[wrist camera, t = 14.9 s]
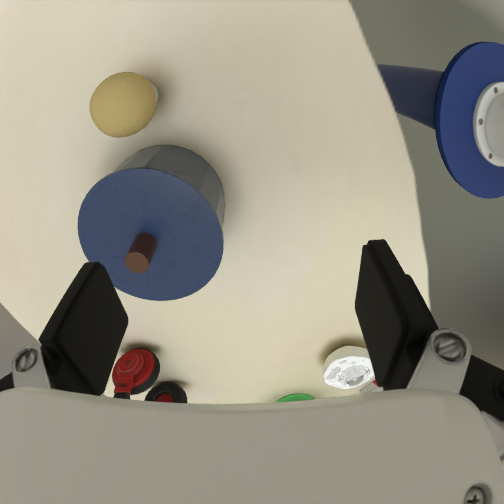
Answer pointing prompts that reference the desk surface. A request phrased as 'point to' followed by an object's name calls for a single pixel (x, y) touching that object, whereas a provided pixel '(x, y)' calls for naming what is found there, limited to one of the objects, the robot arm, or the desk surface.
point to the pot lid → (151, 233)
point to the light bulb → (123, 104)
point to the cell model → (347, 367)
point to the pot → (183, 171)
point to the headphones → (143, 378)
